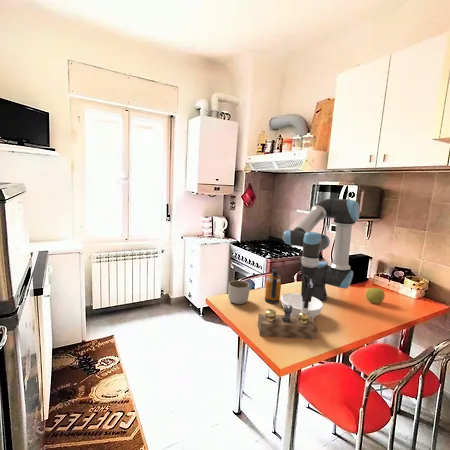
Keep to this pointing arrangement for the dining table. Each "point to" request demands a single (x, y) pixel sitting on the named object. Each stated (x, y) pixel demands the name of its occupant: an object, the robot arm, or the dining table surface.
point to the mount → (286, 327)
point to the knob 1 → (270, 314)
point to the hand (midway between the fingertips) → (304, 313)
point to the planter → (238, 291)
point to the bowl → (296, 304)
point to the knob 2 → (303, 317)
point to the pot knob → (287, 313)
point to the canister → (273, 287)
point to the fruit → (375, 295)
